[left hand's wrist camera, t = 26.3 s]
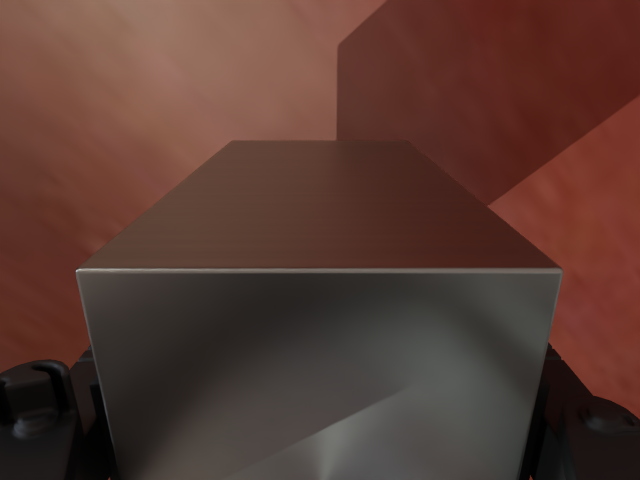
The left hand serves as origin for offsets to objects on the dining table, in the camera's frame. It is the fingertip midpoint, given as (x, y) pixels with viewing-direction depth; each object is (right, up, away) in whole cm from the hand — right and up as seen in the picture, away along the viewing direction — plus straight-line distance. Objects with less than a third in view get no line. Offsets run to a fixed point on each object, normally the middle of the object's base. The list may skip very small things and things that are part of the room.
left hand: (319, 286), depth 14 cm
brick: (0, +2, +4) cm, 4 cm away
